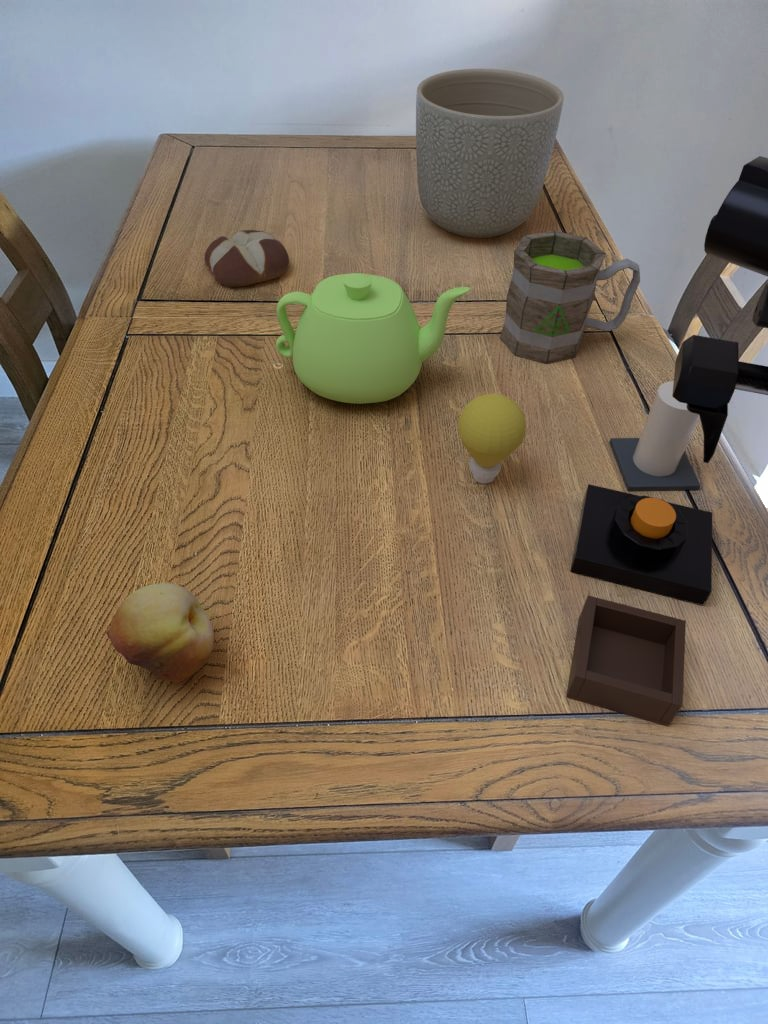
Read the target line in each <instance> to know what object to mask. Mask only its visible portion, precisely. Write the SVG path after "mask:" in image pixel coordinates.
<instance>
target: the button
mask: <svg viewBox="0 0 768 1024" xmlns="http://www.w3.org/2000/svg"><path fill="white" fill-rule="evenodd" d="M657 498H658V497H653V498H645V499H642V500H640V501H639V502H638V503H637V505H636V507H635V509H634V512H633V514H632V517H631V524H632V527H633V528H634V529H635V531H637V532H638V533H640V534H641V535H643V536H645V537H649V538H653V539H659V538H663V537H665V536H667V535H668V534H669V532H670V530H671V528H672V526H673V524H674V522H675V520H676V513H675V510H674V509H673V507H672V506H671V505H670V504H668V503H667V502H668V501H666V500H664V499H662V498H658V499H657ZM661 499H662V500H661ZM663 500H664V501H663ZM665 501H666V502H665Z"/></svg>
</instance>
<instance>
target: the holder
mask: <svg viewBox="0 0 768 1024" xmlns="http://www.w3.org/2000/svg"><path fill="white" fill-rule="evenodd" d="M577 621H578V622H577V628H576V633H575V639H574V645H573V651H572V652H573V653H572V657H571V658H572V659H571V665H570V670H569V676H568V684H567V689H566V694H565V697H566V698H567V699H571V700H575V701H578V702H582V703H586V704H589V705H592V706H596V707H599V708H603V709H607V710H609V711H613V712H617V713H619V714H623V715H627V716H631V717H634V718H637V719H641V720H644V721H648V722H652V723H654V724H657V725H661V726H665V727H669V726H670V725H671V723H672V722H673V720H674V719H675V717H676V716H677V714H678V713H679V711H680V710H681V709H682V707H683V705H684V704H683V703H684V682H685V681H684V679H685V677H684V676H685V653H686V652H685V651H686V627H687V621H686V620H684V619H680V618H676V617H673V616H669V615H666V614H662V613H658V612H654V611H650V610H647V609H642V608H639V607H635V606H631V605H627V604H622V603H619V602H615V601H611V600H607V599H603V598H601V597H596V596H593V595H587V596H586V599H585V601H584V604H583V607H582V609H581V611H580V615H579V616H578V620H577Z"/></svg>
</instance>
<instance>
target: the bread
mask: <svg viewBox="0 0 768 1024" xmlns="http://www.w3.org/2000/svg"><path fill="white" fill-rule="evenodd" d="M204 263H205V265H206V268H207V269H208V270H209V271H210V272H211V273H212V275H213V277H214V278H215V279H216V280H217V281H218V282H219V283H221V284H222V285H224V286H227V287H235V288H236V287H237V288H238V287H239V288H240V287H246V286H251V285H254V284H258V283H262V282H266V281H270V280H274V279H277V278H280V277H283V275H284V274H285V273H286V272H287V270H288V268H289V264H290V257H289V254H288V250H287V249H286V248H285V246H284V245H283V243H282V242H281V241H279V240H277V239H276V237H275V236H274V235H272V234H271V233H269V232H267V231H263V230H254V229H243V230H238V231H237V232H235V234H234V235H233V236H232V238H230V237H228V236H225V235H221V236H219V237H217V238H216V239H215V240H213V241H212V242H211V243H210V244H209V245H208V247H207V248H206V250H205V253H204Z"/></svg>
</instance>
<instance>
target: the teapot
mask: <svg viewBox="0 0 768 1024" xmlns="http://www.w3.org/2000/svg"><path fill="white" fill-rule="evenodd" d="M469 291H470V287H469V286H459V287H454V288H453V287H452V288H451V289H447V290H446V291H444V292H443V293H441V294H440V295H439V297H438V298H437V300H436V302H435V304H434V307H433V312H432V317H431V319H430V321H429V322H428V323H427V324H425V325H424V326H422V327H421V326H420V323H419V321H418V317H417V314H416V312H415V310H414V308H413V306H412V304H411V302H410V300H409V297H407V295H406V293H405V291H404V290H403V288H402V287H401V285H400V284H398V282H396V281H394V280H392V279H390V278H387V277H385V276H384V277H383V276H380V275H375V274H369V273H368V274H367V273H362V272H352V273H344V274H343V273H342V274H337V275H332V276H329V277H326V278H324V279H322V280H321V281H320V282H318V283H317V285H316V287H315V288H314V290H313V291H312V293H311V294H309V293H306V292H303V291H292V292H289V293H288V292H287V293H286V294H285V295H283V296H282V297H281V298H280V299H279V300H278V302H277V305H276V311H275V312H276V318H277V322H278V324H279V326H280V329H281V331H282V333H283V334H282V335H280V336H278V337H277V339H276V341H275V349H276V352H277V353H278V354H279V355H281V356H282V357H284V358H286V359H287V358H292V365H293V370H294V372H295V375H296V377H297V378H298V379H299V381H300V382H301V383H302V384H303V385H304V386H305V387H306V388H308V389H309V390H310V391H312V392H313V393H314V394H316V395H317V396H320V397H322V398H325V399H328V400H331V401H336V402H341V403H346V404H359V405H360V404H373V403H380V402H381V403H383V402H388V401H390V400H392V399H395V398H397V397H399V396H400V395H402V394H403V393H405V392H406V391H407V390H408V389H409V388H410V387H411V386H412V385H413V383H415V381H416V380H417V378H418V377H419V374H420V372H421V369H422V366H423V362H425V361H426V360H428V359H431V357H433V356H434V355H435V354H436V353H437V352H438V351H439V349H440V347H441V346H442V344H443V340H444V339H445V334H446V329H447V323H448V318H449V313H450V310H451V308H452V307H453V305H454V304H455V302H456V301H458V299H460V298H461V297H462V296H464V295H465V294H467V293H468V292H469ZM292 304H293V305H295V304H296V305H302V306H304V308H303V309H302V312H301V315H300V317H299V319H298V322H297V325H296V329H295V330H294V328H293V326H292V324H291V322H290V319H289V317H288V313H287V306H288V305H292ZM285 343H287V344H288V345H286V344H285Z"/></svg>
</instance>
